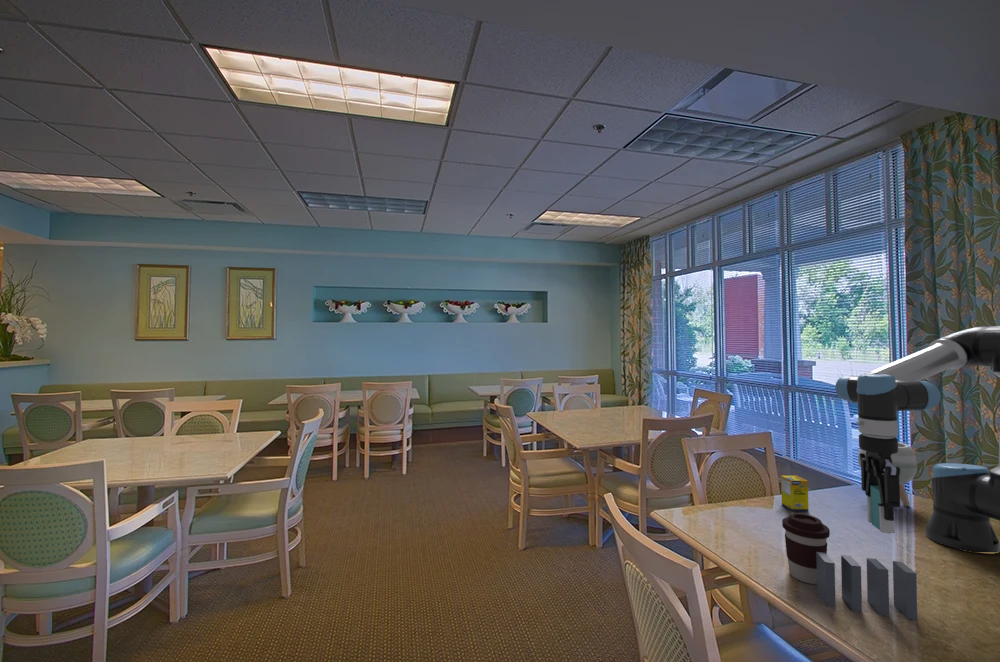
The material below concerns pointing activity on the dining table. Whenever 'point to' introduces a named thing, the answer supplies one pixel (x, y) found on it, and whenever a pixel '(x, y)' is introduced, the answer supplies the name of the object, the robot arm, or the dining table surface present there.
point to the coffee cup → (804, 545)
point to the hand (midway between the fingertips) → (880, 527)
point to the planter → (902, 467)
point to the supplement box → (794, 493)
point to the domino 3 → (875, 506)
